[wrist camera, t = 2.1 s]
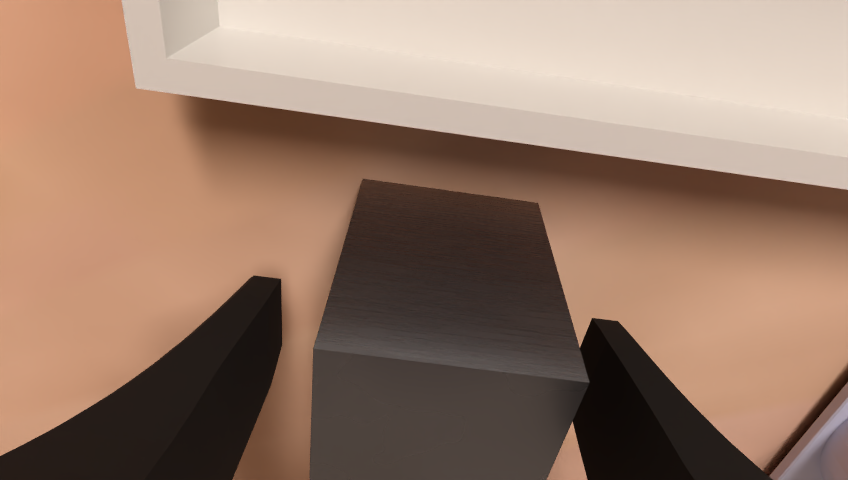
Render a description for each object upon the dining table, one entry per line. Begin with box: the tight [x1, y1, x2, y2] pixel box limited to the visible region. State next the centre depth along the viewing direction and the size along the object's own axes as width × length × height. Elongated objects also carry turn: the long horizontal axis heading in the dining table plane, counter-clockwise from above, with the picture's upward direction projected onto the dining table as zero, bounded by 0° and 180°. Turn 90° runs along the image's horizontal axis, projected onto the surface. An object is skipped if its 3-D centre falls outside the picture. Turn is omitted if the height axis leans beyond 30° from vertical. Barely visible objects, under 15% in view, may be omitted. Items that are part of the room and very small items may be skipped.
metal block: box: [310, 179, 589, 480], centre depth 12 cm, size 4×4×6 cm
